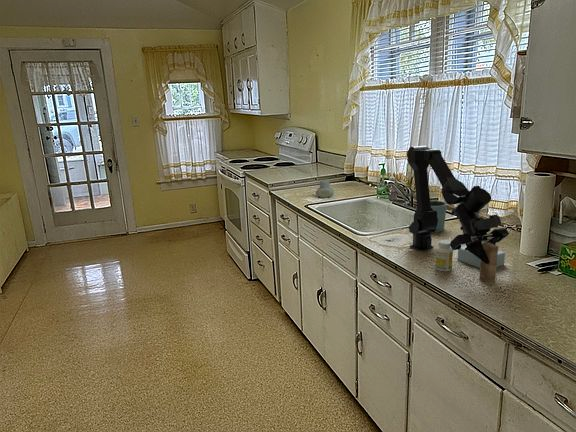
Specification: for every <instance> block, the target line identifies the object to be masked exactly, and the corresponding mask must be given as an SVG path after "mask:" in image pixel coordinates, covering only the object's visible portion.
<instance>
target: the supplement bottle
mask: <svg viewBox="0 0 576 432" xmlns="http://www.w3.org/2000/svg"><path fill="white" fill-rule="evenodd" d="M450 242H451V241H450V240H446V239H441V240H439V241H438V246H437V247H436V248H435V249H436V250H435V266H434V267H435V269H436V270H438V271H440V272H449V271H452V268H453V256H454V255H453V254H454V250H452V248H451V246H450Z"/></svg>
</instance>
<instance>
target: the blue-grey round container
mask: <svg viewBox="0 0 576 432" xmlns="http://www.w3.org/2000/svg"><path fill="white" fill-rule="evenodd" d="M430 203H431V207H432V209H433V210H434V211H437V218H438V224H437V227H436V230H435V232H434V233H440V232H443V231H444V230H445V223H446V216H447V213H446V212H447V207H448V204H447V203H446V202H445V201H443V200H437V199H436V200H433V199H432V200H430Z"/></svg>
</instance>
